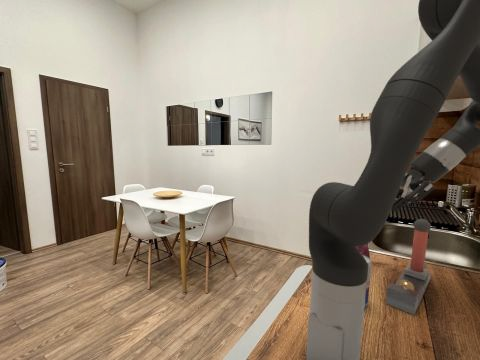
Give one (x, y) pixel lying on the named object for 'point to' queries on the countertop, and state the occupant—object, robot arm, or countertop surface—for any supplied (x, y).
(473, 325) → the countertop surface
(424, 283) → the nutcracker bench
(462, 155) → the robot arm
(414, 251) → the handle
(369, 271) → the energy drink
